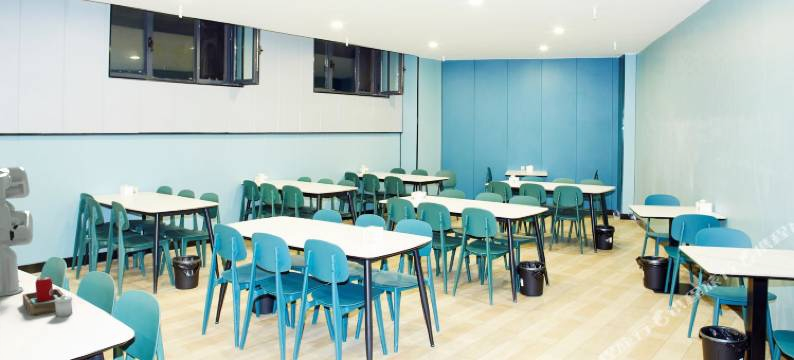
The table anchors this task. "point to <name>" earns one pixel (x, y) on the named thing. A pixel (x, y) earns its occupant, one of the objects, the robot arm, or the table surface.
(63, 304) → the sugar pot
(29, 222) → the robot arm
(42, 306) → the caddy
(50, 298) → the beverage can
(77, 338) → the table surface
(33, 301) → the socket
